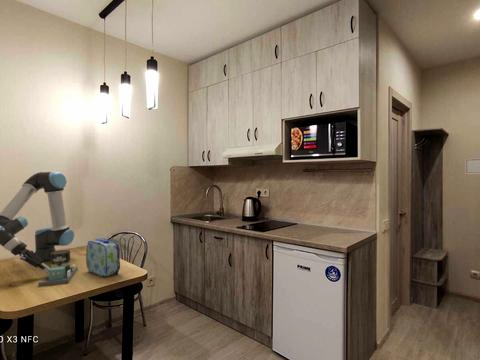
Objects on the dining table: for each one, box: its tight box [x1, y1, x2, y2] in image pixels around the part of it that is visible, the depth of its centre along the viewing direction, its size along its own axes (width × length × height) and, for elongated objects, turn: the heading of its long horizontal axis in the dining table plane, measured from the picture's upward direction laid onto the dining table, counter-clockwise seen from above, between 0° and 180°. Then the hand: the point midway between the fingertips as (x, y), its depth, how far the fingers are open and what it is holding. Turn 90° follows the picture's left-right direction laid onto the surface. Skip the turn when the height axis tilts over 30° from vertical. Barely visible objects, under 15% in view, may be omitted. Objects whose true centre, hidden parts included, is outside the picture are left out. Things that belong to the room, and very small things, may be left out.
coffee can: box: [50, 249, 71, 274], centre depth 174 cm, size 10×10×14 cm
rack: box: [37, 264, 78, 287], centre depth 169 cm, size 25×14×5 cm, turn 19°
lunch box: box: [85, 238, 121, 278], centre depth 176 cm, size 26×11×21 cm, turn 53°
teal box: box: [48, 266, 66, 281], centre depth 163 cm, size 6×7×8 cm
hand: (49, 271), depth 172 cm, fingers closed
